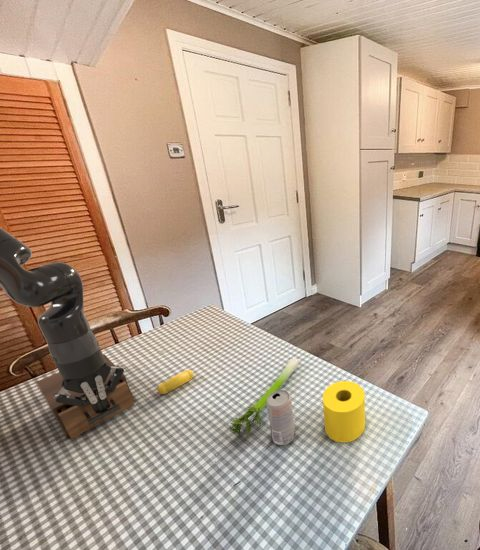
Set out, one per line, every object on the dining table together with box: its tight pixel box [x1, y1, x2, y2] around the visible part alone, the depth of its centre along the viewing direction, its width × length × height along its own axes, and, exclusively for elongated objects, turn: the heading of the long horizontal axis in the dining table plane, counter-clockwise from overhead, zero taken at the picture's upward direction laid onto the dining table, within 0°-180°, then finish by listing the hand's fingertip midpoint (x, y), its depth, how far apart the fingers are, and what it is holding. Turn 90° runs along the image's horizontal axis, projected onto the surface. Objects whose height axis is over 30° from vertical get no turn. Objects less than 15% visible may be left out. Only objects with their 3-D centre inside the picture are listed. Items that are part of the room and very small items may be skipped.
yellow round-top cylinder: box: [157, 369, 195, 395], centre depth 88 cm, size 10×3×3 cm, turn 144°
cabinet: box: [36, 354, 135, 439], centre depth 80 cm, size 16×14×9 cm
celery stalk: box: [229, 358, 301, 437], centre depth 83 cm, size 6×7×30 cm
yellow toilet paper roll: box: [322, 380, 366, 443], centre depth 74 cm, size 10×10×9 cm
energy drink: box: [266, 389, 296, 446], centre depth 70 cm, size 5×5×12 cm
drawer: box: [58, 381, 135, 440], centre depth 77 cm, size 19×13×7 cm
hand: (103, 411), depth 73 cm, fingers closed
